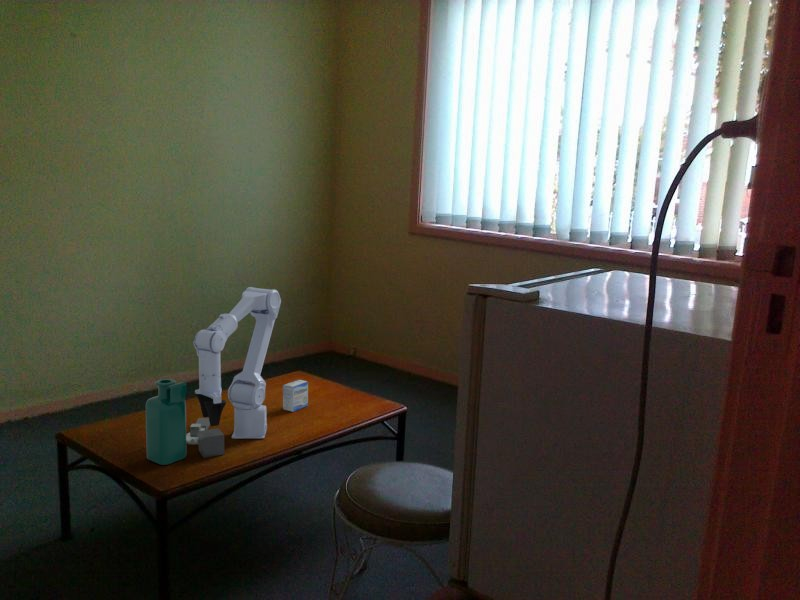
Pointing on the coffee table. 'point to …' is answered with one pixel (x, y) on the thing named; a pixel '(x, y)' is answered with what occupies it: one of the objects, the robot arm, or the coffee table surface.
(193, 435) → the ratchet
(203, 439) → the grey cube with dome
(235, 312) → the robot arm
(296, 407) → the medicine box
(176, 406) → the teal green bottle
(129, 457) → the coffee table surface
